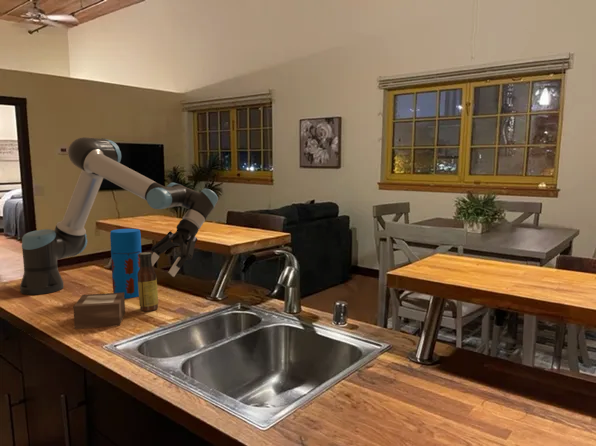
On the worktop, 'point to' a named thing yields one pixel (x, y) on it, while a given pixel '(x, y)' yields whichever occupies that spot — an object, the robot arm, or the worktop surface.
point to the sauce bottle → (147, 283)
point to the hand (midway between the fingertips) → (158, 271)
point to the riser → (99, 310)
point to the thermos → (125, 261)
